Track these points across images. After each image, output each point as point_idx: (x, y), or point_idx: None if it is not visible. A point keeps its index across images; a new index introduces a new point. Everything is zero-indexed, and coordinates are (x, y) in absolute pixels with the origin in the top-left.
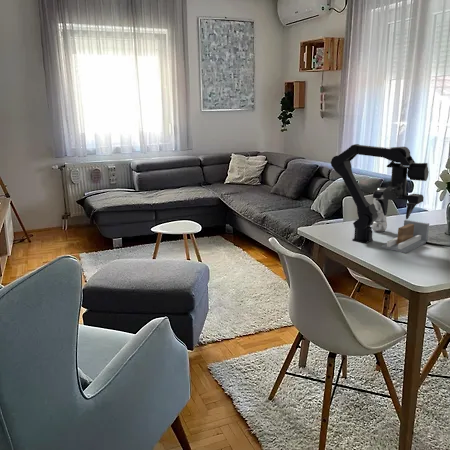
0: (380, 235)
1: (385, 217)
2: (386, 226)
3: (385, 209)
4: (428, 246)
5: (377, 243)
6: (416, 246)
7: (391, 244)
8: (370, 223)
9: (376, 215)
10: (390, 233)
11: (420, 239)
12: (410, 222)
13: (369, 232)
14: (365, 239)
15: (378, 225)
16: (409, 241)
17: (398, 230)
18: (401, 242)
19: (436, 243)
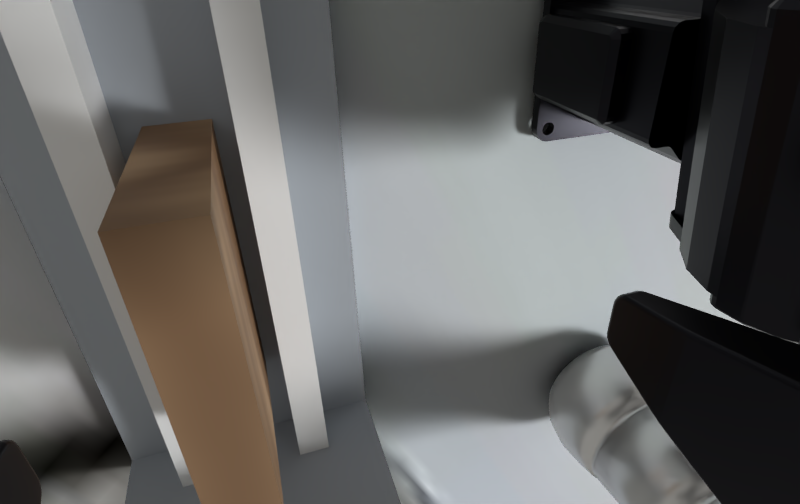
0: (534, 307)
1: (625, 494)
2: (560, 433)
3: (750, 416)
4: (22, 387)
5: (445, 68)
6: (52, 271)
7: None
8: (721, 7)
9: (758, 265)
10: (496, 400)
11: None
12: None
13: (609, 33)
14: (585, 3)
15: (617, 385)
16: (85, 233)
17: (202, 196)
18: (69, 63)
19: (64, 494)
